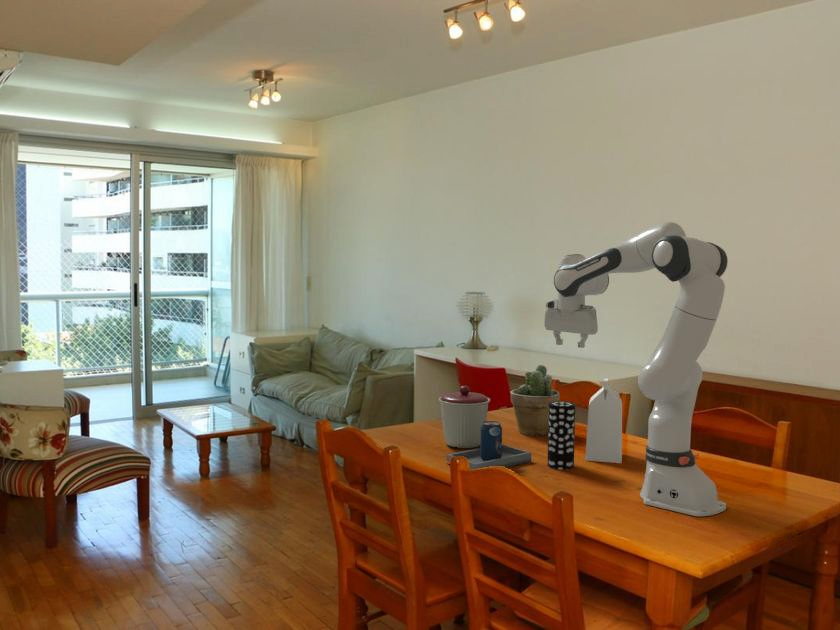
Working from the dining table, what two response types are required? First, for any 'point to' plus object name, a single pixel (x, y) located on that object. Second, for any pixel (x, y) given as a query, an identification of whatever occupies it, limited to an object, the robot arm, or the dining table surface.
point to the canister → (463, 417)
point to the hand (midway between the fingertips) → (570, 346)
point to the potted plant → (534, 402)
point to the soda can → (491, 440)
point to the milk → (604, 426)
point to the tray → (508, 459)
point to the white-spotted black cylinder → (561, 435)
